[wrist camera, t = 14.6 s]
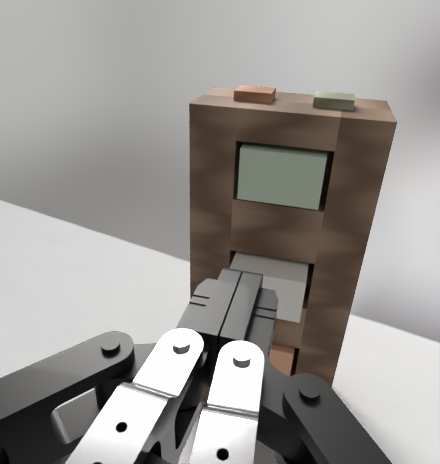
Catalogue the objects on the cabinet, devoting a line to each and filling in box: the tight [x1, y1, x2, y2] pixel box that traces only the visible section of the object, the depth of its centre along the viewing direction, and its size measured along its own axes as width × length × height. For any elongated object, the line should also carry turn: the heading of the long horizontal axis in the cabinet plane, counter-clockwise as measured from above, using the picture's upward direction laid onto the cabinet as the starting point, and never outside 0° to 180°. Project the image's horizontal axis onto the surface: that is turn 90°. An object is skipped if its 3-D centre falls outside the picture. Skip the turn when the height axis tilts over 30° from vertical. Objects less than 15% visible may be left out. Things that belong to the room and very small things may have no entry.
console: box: [189, 85, 397, 402], centre depth 32 cm, size 12×6×28 cm, turn 76°
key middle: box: [229, 251, 309, 323], centre depth 29 cm, size 5×3×3 cm, turn 76°
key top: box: [237, 142, 327, 210], centre depth 26 cm, size 5×3×3 cm, turn 76°
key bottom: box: [269, 343, 295, 377], centre depth 34 cm, size 5×3×3 cm, turn 76°
